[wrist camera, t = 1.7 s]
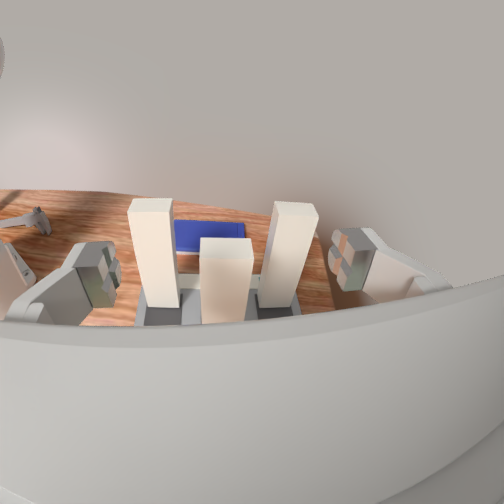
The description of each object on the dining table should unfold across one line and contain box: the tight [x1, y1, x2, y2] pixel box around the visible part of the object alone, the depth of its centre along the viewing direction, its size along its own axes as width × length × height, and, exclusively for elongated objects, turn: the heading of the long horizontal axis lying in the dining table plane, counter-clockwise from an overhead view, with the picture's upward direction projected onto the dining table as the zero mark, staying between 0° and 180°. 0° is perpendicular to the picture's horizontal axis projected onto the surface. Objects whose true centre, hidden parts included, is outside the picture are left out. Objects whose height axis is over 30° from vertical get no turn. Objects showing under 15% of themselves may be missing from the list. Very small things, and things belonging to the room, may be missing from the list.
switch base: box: [134, 274, 302, 326], centre depth 34 cm, size 13×21×1 cm, turn 96°
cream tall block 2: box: [257, 201, 319, 308], centre depth 31 cm, size 2×4×14 cm, turn 96°
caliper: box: [0, 207, 52, 235], centre depth 40 cm, size 20×1×6 cm, turn 86°
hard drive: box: [174, 220, 245, 255], centre depth 46 cm, size 2×8×12 cm
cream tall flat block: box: [199, 238, 254, 324], centre depth 26 cm, size 2×4×14 cm, turn 96°
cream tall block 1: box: [127, 198, 180, 308], centre depth 29 cm, size 2×4×14 cm, turn 96°
